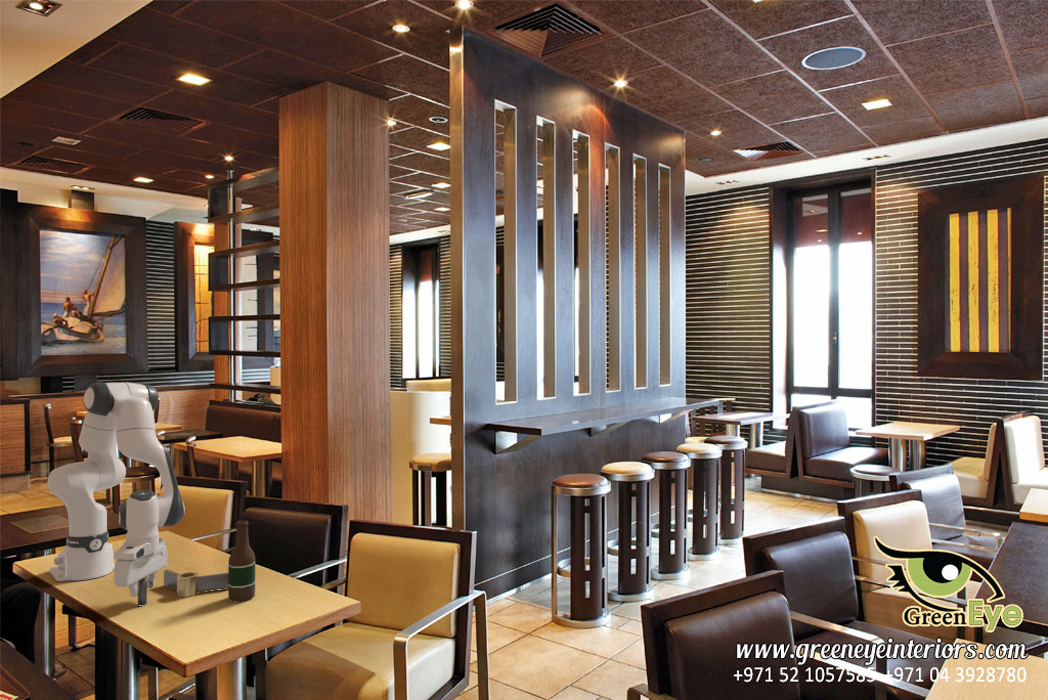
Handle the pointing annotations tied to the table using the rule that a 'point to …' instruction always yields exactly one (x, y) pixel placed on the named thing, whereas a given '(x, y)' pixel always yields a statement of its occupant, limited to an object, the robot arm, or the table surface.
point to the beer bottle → (241, 566)
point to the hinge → (194, 582)
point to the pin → (142, 591)
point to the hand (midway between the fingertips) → (142, 591)
